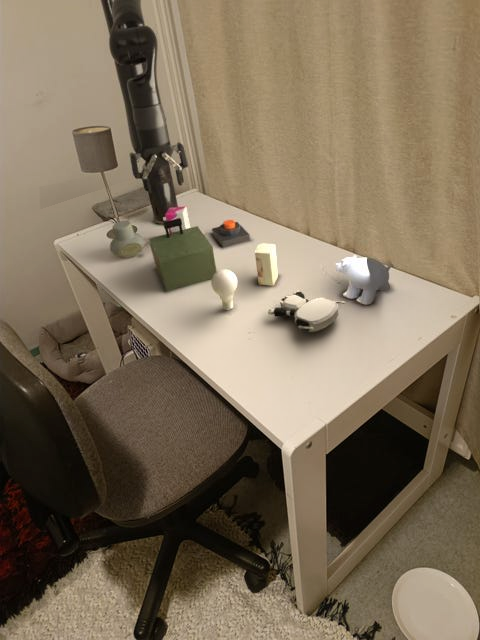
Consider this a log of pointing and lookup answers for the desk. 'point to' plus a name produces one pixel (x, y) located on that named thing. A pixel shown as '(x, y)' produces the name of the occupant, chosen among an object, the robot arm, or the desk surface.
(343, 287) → the desk surface
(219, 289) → the lightbulb
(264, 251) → the cream cardboard box
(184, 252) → the green handled lid
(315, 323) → the robot toy
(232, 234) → the control block
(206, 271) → the green box
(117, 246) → the air freshener
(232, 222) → the release button
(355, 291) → the white animal-shaped figure
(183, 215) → the supplement box
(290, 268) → the desk surface
